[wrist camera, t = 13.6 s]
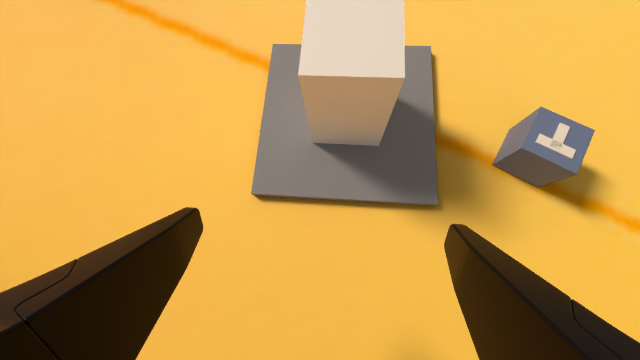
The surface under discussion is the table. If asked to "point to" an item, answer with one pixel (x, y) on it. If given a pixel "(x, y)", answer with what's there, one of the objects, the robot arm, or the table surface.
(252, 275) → the table surface
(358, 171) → the mat
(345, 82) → the white tall block
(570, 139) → the letter cube
